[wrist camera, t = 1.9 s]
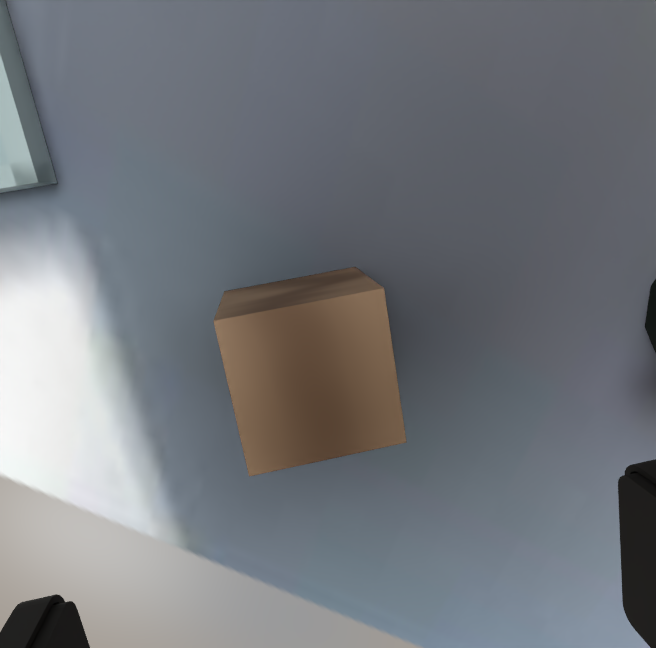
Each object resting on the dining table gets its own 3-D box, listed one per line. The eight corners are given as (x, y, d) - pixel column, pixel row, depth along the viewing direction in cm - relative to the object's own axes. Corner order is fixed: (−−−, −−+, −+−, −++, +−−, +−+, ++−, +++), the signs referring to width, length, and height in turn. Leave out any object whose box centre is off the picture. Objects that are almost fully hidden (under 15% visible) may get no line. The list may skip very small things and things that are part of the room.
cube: (354, 266, 25) (383, 288, 19) (373, 387, 26) (406, 442, 20) (224, 291, 24) (213, 320, 18) (251, 413, 26) (249, 476, 20)
